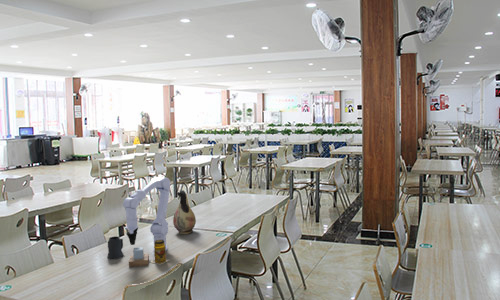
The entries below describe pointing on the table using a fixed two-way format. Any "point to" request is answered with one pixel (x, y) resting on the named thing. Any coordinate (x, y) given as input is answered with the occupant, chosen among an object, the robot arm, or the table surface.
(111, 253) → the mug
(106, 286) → the table surface
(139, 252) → the blue cube
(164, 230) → the robot arm
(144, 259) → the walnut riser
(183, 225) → the ceramic jug
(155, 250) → the condiment
